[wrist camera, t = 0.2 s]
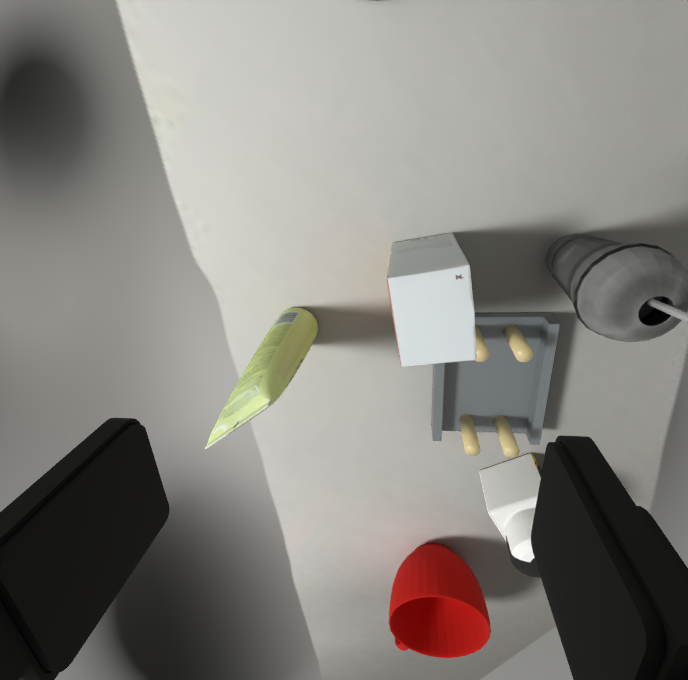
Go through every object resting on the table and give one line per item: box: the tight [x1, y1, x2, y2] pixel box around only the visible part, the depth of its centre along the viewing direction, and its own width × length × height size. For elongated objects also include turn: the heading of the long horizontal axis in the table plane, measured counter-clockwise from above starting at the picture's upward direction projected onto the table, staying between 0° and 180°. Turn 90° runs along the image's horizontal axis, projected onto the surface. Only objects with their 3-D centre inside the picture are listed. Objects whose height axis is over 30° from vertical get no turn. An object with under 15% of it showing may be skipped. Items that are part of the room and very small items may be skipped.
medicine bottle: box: [479, 453, 542, 578], centre depth 47 cm, size 7×7×12 cm
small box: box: [387, 233, 477, 367], centre depth 37 cm, size 8×6×13 cm
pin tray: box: [431, 313, 560, 458], centre depth 44 cm, size 15×12×7 cm
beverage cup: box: [547, 234, 688, 342], centre depth 31 cm, size 7×7×20 cm
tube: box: [205, 308, 318, 449], centre depth 39 cm, size 6×5×20 cm
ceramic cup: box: [389, 544, 491, 658], centre depth 57 cm, size 13×17×10 cm
